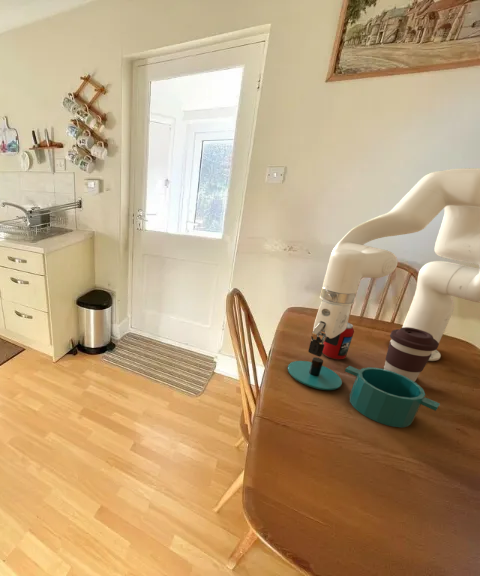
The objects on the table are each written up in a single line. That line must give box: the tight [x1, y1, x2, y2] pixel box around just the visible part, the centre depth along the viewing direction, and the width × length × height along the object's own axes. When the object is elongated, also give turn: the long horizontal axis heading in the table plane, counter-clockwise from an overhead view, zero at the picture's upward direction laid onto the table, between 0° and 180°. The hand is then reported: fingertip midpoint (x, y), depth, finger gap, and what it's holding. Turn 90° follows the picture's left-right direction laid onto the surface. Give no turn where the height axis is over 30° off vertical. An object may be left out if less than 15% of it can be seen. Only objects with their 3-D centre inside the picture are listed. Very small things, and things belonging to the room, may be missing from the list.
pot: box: [344, 365, 441, 428], centre depth 80 cm, size 13×18×8 cm
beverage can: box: [322, 322, 355, 360], centre depth 103 cm, size 7×7×12 cm
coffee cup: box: [383, 327, 440, 382], centre depth 92 cm, size 10×10×15 cm
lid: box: [287, 356, 343, 391], centre depth 93 cm, size 14×14×6 cm
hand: (322, 348), depth 91 cm, fingers open, 9 cm apart
